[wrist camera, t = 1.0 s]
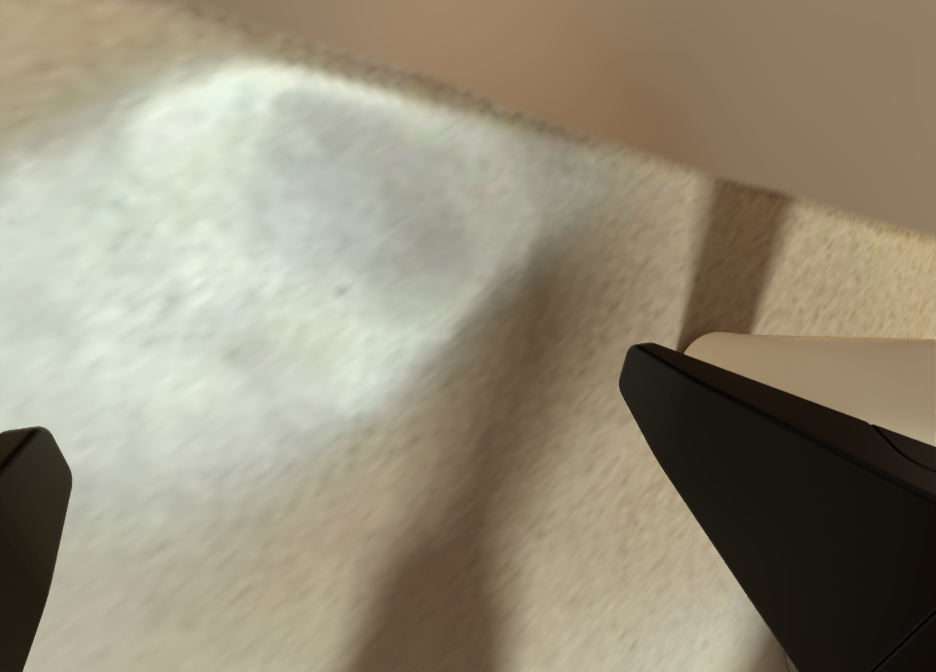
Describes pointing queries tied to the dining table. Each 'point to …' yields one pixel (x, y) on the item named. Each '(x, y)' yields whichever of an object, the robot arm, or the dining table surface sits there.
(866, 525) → the robot arm
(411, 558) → the dining table surface
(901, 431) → the drinking glass
